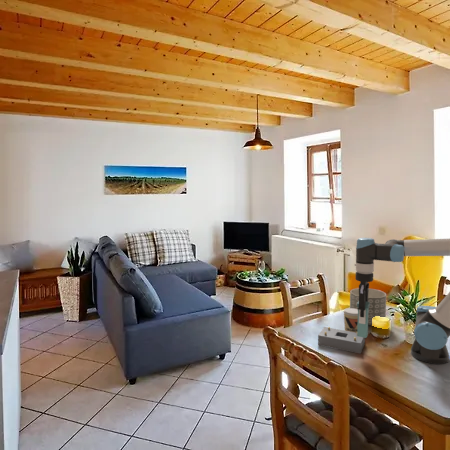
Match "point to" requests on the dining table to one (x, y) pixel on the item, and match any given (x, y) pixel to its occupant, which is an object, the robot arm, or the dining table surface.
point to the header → (341, 340)
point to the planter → (371, 303)
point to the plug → (363, 328)
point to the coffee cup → (351, 319)
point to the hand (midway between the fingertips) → (362, 321)
